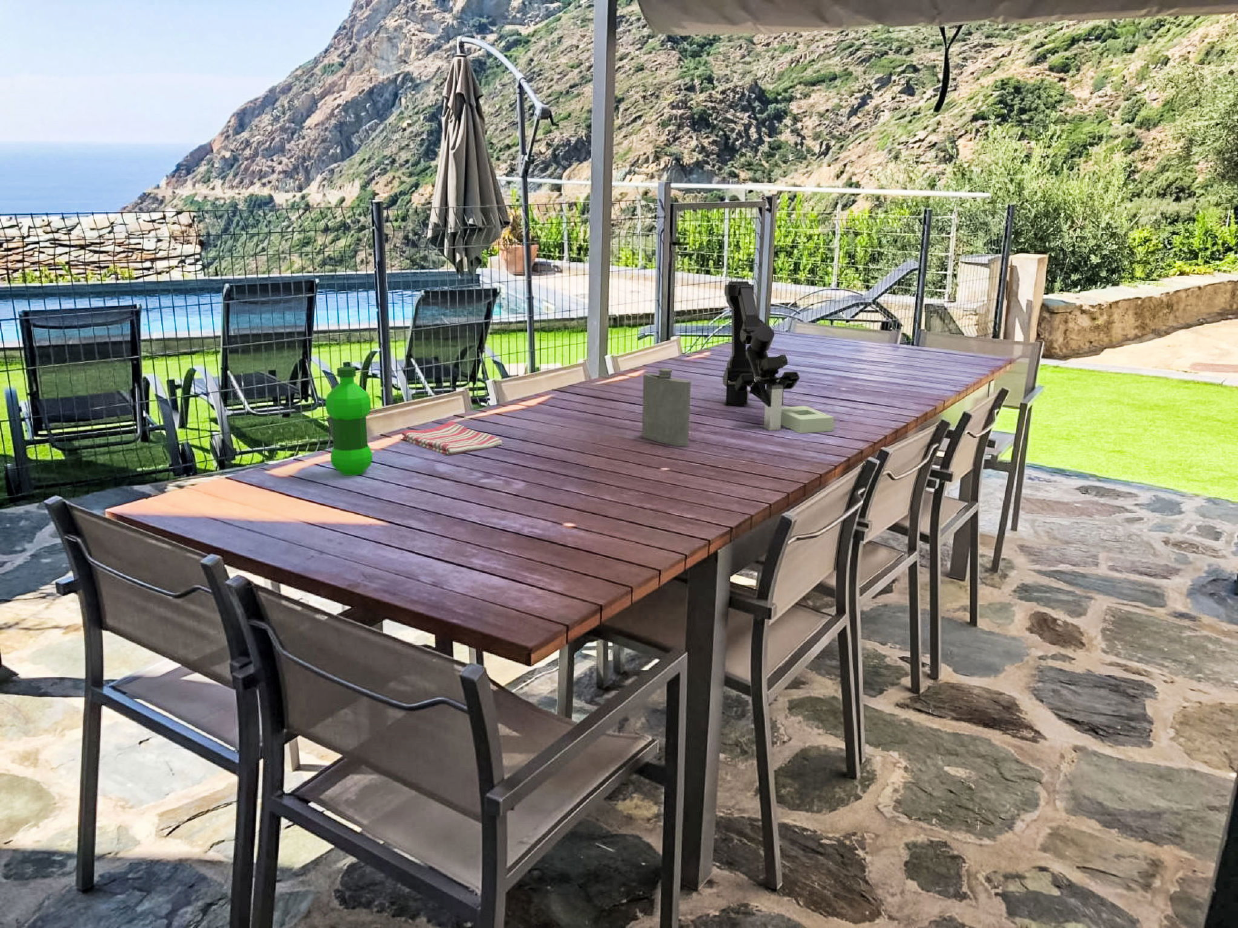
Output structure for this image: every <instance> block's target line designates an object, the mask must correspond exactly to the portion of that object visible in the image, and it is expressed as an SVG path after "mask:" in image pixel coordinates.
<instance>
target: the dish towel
mask: <svg viewBox="0 0 1238 928" xmlns="http://www.w3.org/2000/svg"><path fill="white" fill-rule="evenodd" d="M401 435H402V436H403V437H402V440H403V441H407V442H408V443H410V444H414V445H417V446H419V447H423V448H424V449H428V450H431V451H434V452H436V453H440V454H444V455H447V456H452V455H459V454H463V453H469V452H476V451H480V450H485V449H491V448H494V447H498V446H499V447H501V446H502V444H503V442H502V439H500V438H499V437H496V436H494V435H493V434H489V433H486V432H479V431H476V430H472V429H468V428H466V427H465V426H464V425H462V424H459V423H456V422H455V420H450V421H448V422H446V423H444V424H441V425H438V426H436V427H433V428H427V429H423V430H415V429H409V430H403V431H402V432H401Z"/></svg>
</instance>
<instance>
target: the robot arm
mask: <svg viewBox="0 0 1238 928" xmlns="http://www.w3.org/2000/svg"><path fill="white" fill-rule="evenodd" d="M754 288H755V284H751V283H749V281H747V280H745V281H744V280H738V281H737V280H735V281H734V280H729V281H728V283H727V284H724V293H723V294H724V296H725V301H726V304H727V305H728V307H729V309H731V311H730V312H731V314H730V315H731V355H730V358H729V359H728V361H727V363H726V367H725V369H724V373H723V376H722V385H723V386H725V387H726V390H725V393H726V394H725V402H724V405H726V406H737V407H745V406H746V405H747V404H748V403H749V397H750V396H749V395H750V394H752V395H754V396H755V397H756V398H758V399H759V400H760V401H761V402H762V403H764V405H765V404H766V405H767V406H768V407H770V406H771V403H770V399H769V397H768V394H767V391H766V384H773V383H778V384H780V385H783V392H784V390H791V389H794V387H795V386H796V384H797V383H798V382H799V380H800V376H799V375H800V374H799V372H798V371H796V370H794V371H784V372H783V373H782V375H781V376H776V375H778V374H779V370H780V369H783V368H784V367H785V366H788V365H789V364H788V361H789V360H788V358H787V356H786V354H780V355H777V356H769V354H768V352H767V351H769V350H770V348H771V345H772V343H773V340H774V338H775V331H774V330H773V328H771V327H770V326H768V325H767V323H766V322H764V321H763V320H762V319H761V318H760V317H759V315H758V309H757V306H756V305H757V304H756V300H755V293H754V292H755V289H754ZM748 387H749V388H750V389H748ZM783 405H784V394H783V395H782V406H783Z"/></svg>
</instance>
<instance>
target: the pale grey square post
mask: <svg viewBox="0 0 1238 928" xmlns="http://www.w3.org/2000/svg"><path fill="white" fill-rule="evenodd" d="M765 389H766V391H767V394H768V397H769V399H770V403H771V406H770V407H768V406H767V405H766V404H765V403H764V417H763V419H764V421H763V429H765V428H766V429H765V430H767V431H770V432H771V431H780V430H781V426H782V425H781V410H782V407H783V405H782V395H783V396H784V391H783V385H780V384H778V383H773V384H766V385H765Z"/></svg>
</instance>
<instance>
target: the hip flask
mask: <svg viewBox="0 0 1238 928" xmlns="http://www.w3.org/2000/svg"><path fill="white" fill-rule="evenodd" d="M671 373H673V369H672V368H666V367H663V368H658V373H650V372H649V373H647V372H646V373H644V374H643V382H642V383H643V384H642V385H643V387H642V388H643V389H642V419H641V420H642V423H641V424H642V426H641V437H642V438H645V439H648V440H651V441H654V442H658V443H662V444H667V445H672V446H677V447H688V446H689V442H690V441H689V438H690V435H689V434H690V416H691V415H690V413H691V412H690V411H691V410H690V409H691V406H690V405H691V387H692V386H691V383H692V382H691V380H688V379H681V378H675V377H672V374H671Z"/></svg>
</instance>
